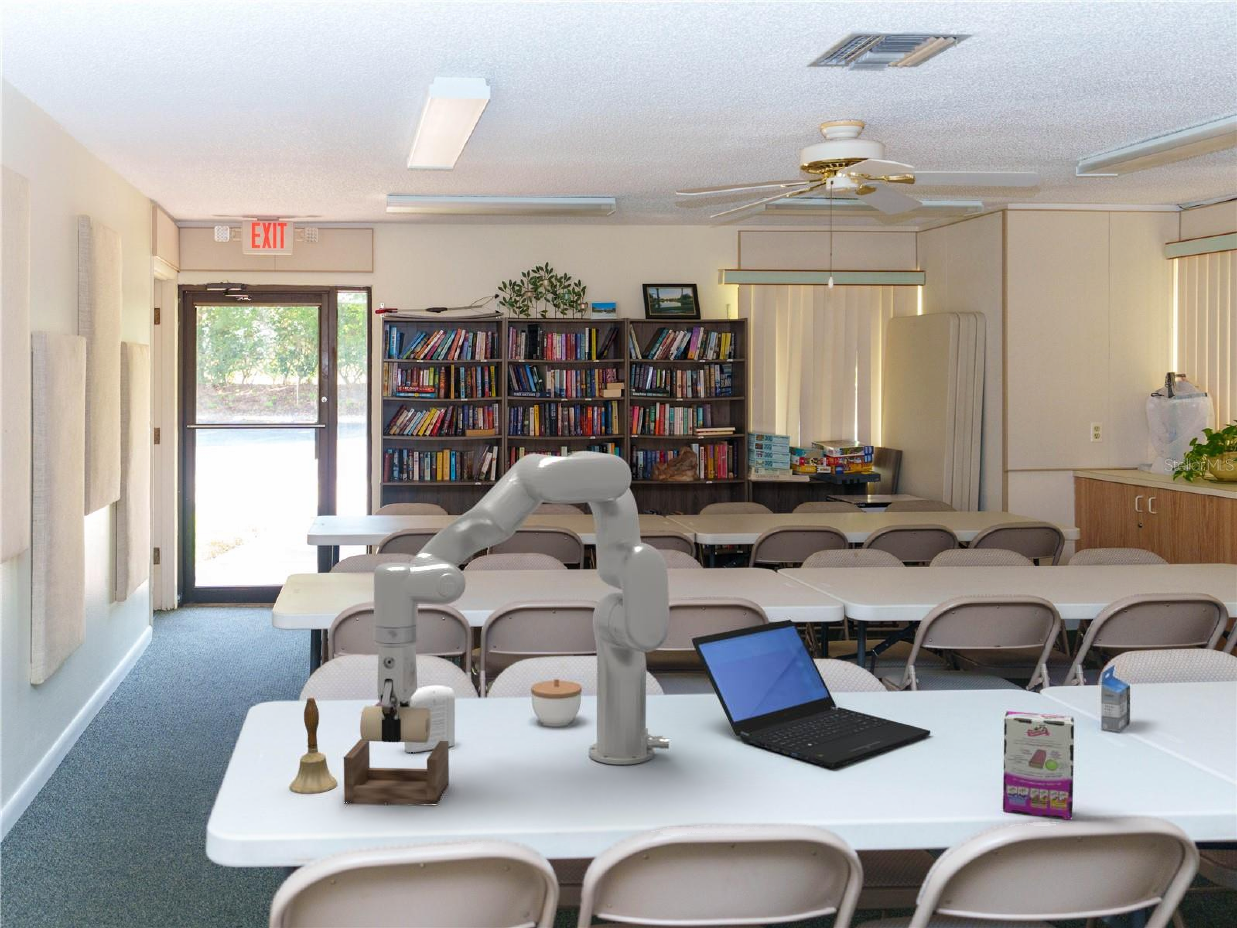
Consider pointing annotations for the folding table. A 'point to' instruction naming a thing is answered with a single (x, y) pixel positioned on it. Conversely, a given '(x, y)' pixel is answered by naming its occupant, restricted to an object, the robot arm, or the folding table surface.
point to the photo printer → (435, 716)
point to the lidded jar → (556, 702)
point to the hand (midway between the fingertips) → (396, 734)
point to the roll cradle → (395, 778)
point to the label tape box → (1114, 703)
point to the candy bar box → (1038, 764)
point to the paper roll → (412, 724)
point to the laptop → (789, 698)
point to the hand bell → (312, 759)
